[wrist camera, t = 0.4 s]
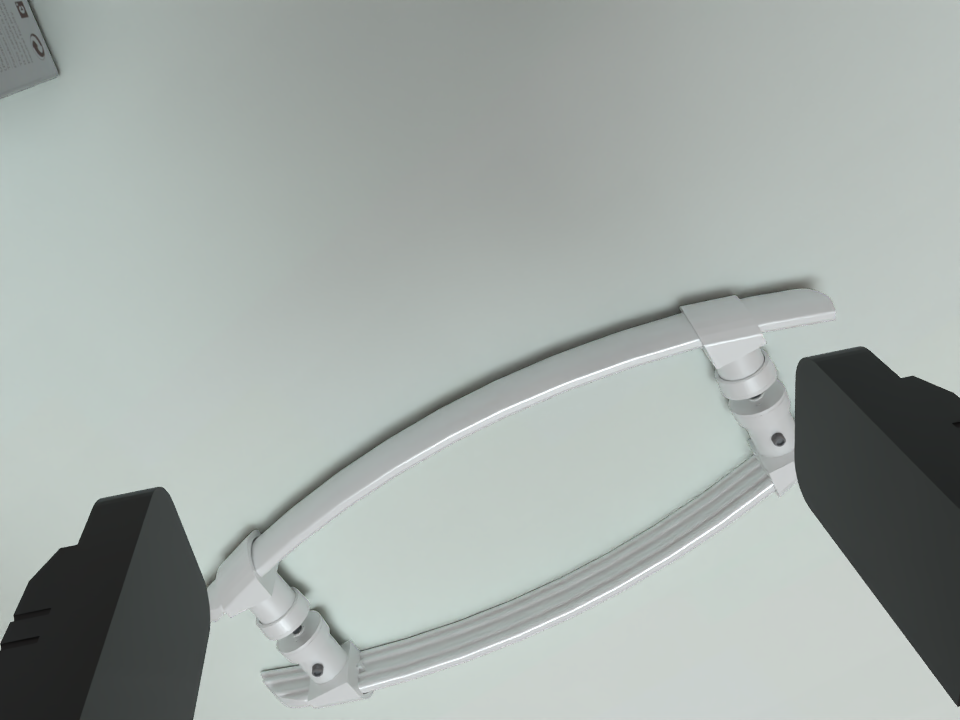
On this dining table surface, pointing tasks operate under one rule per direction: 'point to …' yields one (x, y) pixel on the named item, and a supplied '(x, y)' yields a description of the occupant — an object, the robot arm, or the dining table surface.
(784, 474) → the door handle
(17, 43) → the skincare box
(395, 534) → the dining table surface
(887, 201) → the dining table surface
